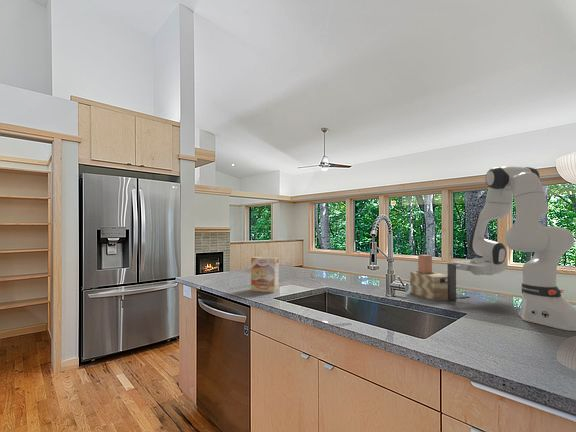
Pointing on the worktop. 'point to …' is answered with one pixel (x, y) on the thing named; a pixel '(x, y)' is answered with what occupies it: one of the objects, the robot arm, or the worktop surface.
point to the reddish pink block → (425, 263)
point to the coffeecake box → (264, 274)
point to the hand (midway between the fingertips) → (457, 267)
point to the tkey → (451, 282)
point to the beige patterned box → (429, 285)
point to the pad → (461, 296)
